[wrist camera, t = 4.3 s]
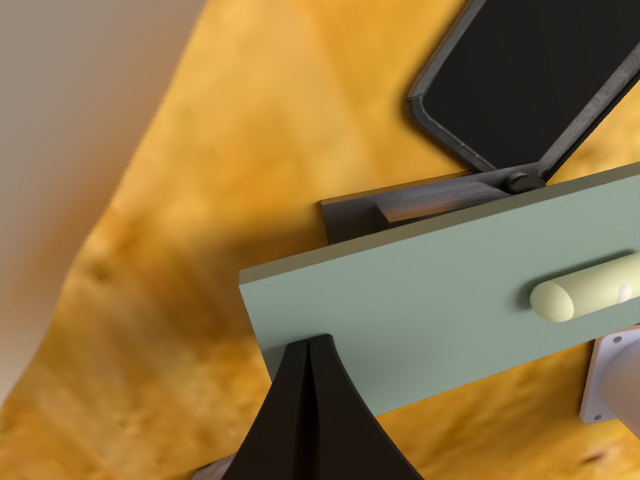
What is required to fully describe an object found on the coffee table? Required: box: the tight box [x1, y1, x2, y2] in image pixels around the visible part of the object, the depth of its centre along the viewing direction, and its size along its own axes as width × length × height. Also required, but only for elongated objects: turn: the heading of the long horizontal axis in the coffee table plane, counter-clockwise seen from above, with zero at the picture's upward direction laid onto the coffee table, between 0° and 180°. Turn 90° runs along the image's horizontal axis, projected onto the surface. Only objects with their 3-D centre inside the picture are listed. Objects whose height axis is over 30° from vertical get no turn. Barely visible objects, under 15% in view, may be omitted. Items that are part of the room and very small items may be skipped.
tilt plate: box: [238, 162, 640, 417], centre depth 11 cm, size 16×7×3 cm, turn 100°
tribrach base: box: [321, 161, 546, 246], centre depth 15 cm, size 10×7×3 cm
